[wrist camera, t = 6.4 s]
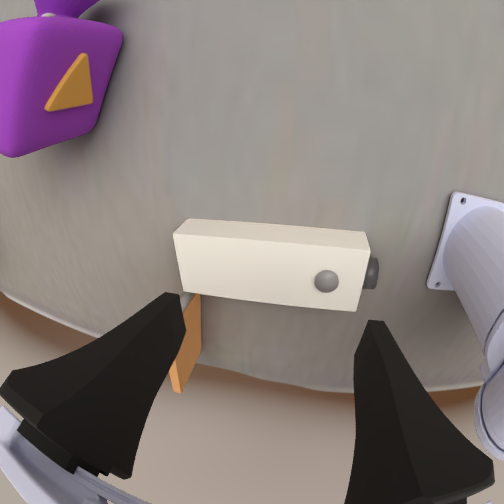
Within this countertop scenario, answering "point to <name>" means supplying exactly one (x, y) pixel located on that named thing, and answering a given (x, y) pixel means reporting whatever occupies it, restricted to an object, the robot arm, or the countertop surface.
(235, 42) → the countertop surface
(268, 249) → the cream tapered panel
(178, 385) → the side door
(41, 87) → the toy camera
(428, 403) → the robot arm
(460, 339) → the countertop surface
